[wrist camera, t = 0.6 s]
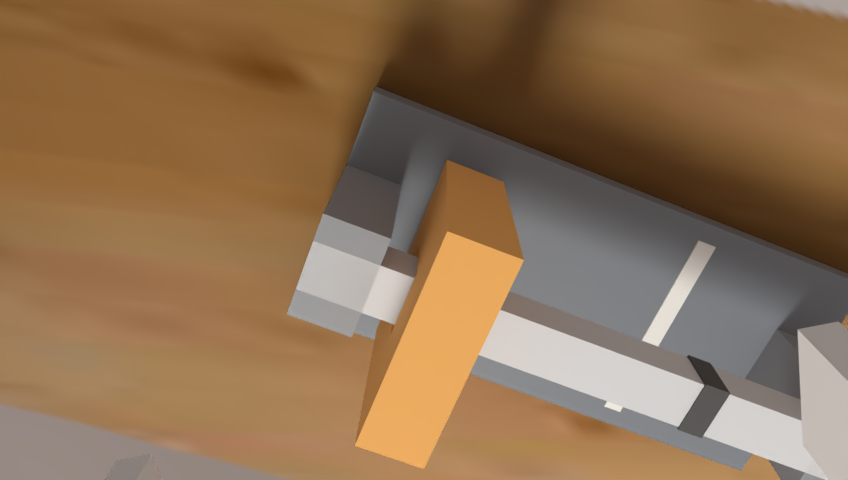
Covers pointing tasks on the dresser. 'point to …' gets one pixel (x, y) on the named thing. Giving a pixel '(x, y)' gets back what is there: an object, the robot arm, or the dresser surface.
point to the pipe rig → (587, 290)
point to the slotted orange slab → (440, 315)
